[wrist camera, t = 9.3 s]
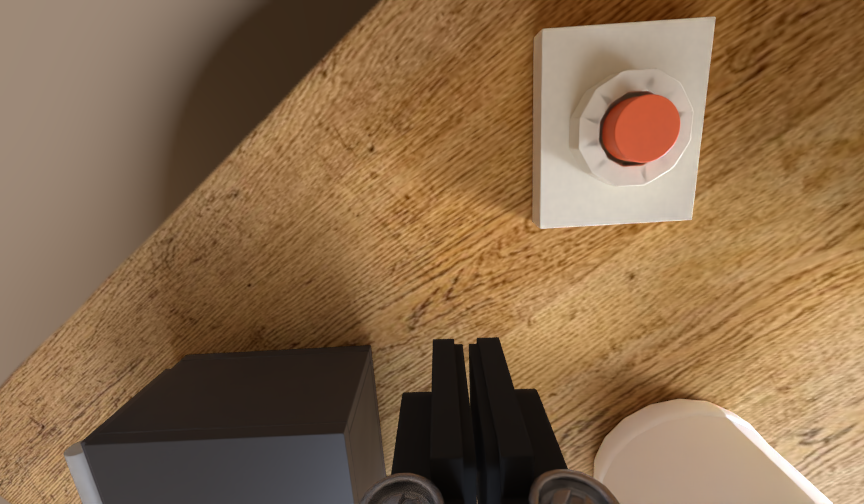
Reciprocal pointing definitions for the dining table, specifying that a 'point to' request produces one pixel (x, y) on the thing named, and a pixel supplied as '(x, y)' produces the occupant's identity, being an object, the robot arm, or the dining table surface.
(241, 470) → the small drawer cabinet
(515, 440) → the robot arm
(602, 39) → the control block
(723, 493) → the bottle
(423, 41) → the dining table surface
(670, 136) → the button
